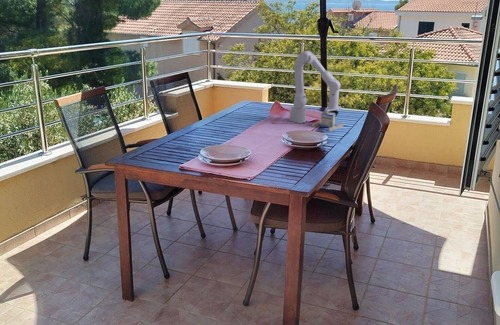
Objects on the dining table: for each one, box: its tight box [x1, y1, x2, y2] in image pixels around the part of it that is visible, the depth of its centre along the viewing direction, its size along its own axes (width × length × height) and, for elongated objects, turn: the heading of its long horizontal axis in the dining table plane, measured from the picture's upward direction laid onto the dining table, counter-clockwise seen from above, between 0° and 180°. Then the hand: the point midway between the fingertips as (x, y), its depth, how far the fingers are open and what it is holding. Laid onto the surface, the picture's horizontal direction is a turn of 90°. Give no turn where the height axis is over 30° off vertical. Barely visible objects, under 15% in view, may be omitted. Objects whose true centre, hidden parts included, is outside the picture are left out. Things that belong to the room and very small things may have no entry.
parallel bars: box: [312, 120, 344, 132], centre depth 302 cm, size 13×14×2 cm
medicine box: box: [320, 110, 336, 129], centre depth 300 cm, size 8×4×9 cm, turn 62°
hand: (332, 122), depth 304 cm, fingers closed
